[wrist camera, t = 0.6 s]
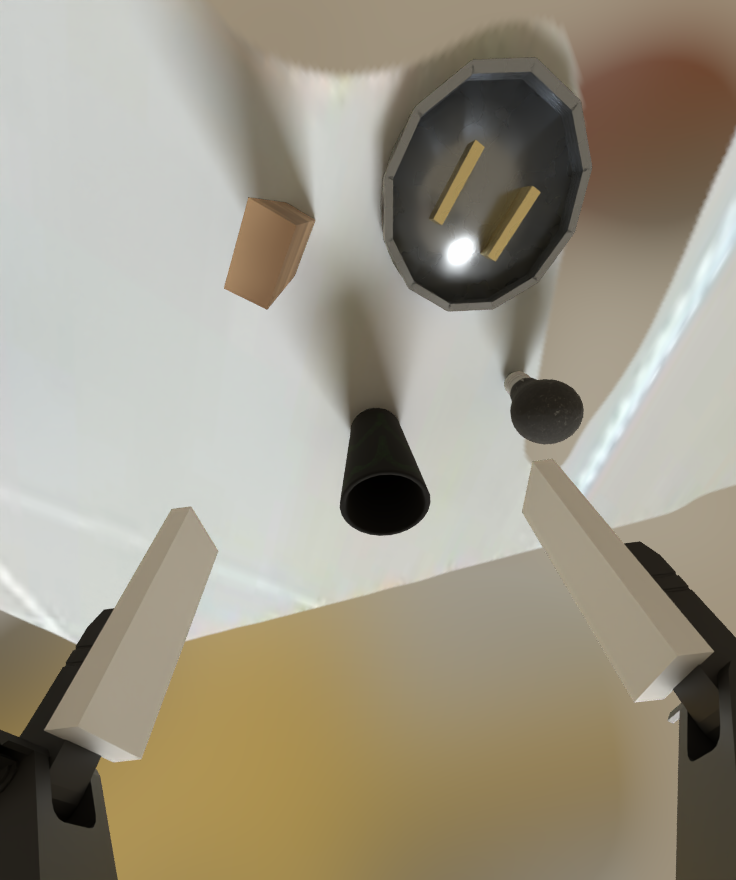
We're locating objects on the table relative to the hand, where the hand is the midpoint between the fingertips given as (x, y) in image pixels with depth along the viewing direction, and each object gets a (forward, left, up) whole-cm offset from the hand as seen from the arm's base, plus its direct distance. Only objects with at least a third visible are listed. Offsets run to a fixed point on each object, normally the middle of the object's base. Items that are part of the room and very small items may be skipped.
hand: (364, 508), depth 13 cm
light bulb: (+17, +4, -23) cm, 28 cm away
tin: (+4, +14, -23) cm, 26 cm away
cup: (+7, -8, -23) cm, 25 cm away
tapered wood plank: (-8, +5, -23) cm, 24 cm away
